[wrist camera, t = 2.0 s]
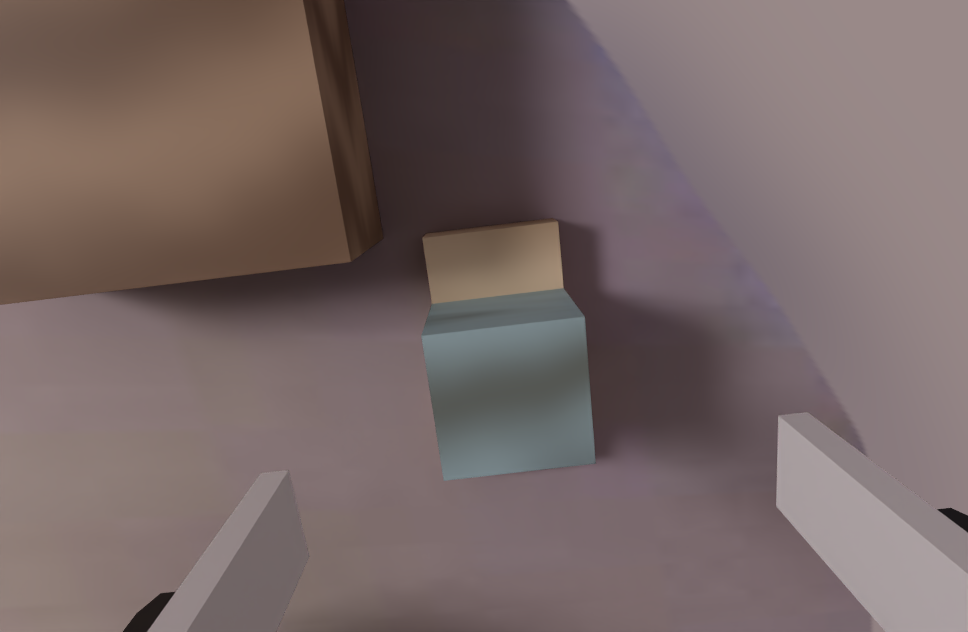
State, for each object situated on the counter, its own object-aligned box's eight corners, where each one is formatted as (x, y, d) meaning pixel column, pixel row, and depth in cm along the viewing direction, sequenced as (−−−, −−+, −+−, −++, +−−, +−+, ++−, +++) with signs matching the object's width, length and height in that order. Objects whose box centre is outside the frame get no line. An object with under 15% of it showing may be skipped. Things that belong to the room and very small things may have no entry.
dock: (383, 238, 26) (328, 278, 16) (50, 278, 26) (-200, 342, 16) (316, -164, 22) (190, -430, 12) (-78, -111, 22) (-510, -331, 12)
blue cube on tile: (571, 445, 29) (600, 529, 22) (458, 458, 29) (453, 545, 22) (552, 217, 26) (578, 234, 19) (426, 233, 26) (408, 254, 19)
